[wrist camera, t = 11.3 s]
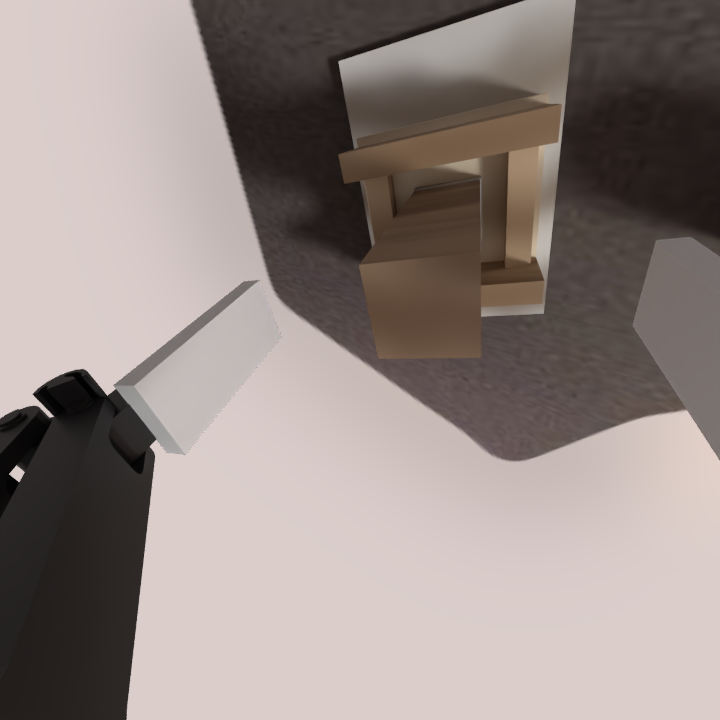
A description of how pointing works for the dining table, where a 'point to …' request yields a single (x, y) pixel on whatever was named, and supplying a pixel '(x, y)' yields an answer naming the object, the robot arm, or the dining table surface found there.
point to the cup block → (470, 133)
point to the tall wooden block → (428, 275)
